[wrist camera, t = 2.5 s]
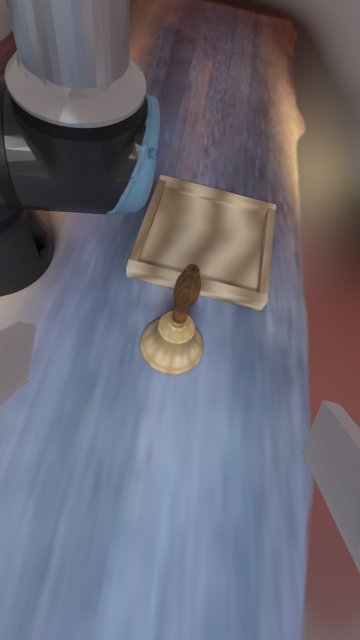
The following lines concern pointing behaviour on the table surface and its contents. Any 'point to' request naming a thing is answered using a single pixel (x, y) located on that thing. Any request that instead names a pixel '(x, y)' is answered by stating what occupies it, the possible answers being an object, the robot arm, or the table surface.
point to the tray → (206, 241)
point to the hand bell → (175, 330)
